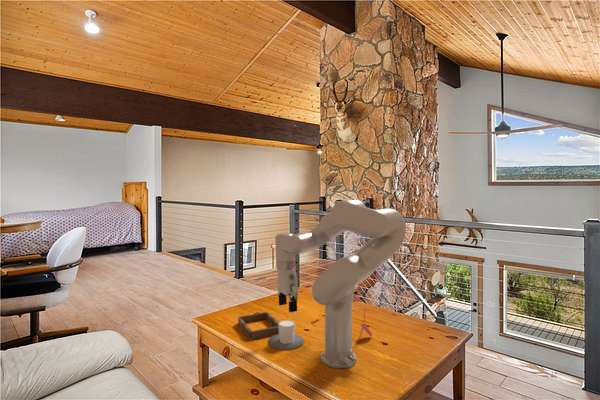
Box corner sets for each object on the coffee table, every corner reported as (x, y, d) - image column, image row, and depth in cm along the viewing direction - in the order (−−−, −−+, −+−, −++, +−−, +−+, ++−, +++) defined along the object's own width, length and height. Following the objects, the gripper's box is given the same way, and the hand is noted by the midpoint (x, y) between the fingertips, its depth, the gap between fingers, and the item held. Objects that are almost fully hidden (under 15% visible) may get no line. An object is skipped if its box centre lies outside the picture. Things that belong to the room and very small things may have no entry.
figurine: (375, 348, 128) (376, 256, 127) (326, 327, 147) (327, 247, 147) (397, 337, 138) (399, 252, 138) (349, 319, 158) (350, 244, 157)
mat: (309, 345, 131) (309, 344, 131) (276, 353, 125) (276, 352, 125) (294, 331, 143) (294, 330, 143) (263, 338, 137) (263, 337, 137)
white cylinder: (274, 342, 133) (274, 324, 132) (284, 335, 139) (284, 318, 138) (289, 346, 129) (289, 328, 129) (298, 339, 135) (298, 321, 135)
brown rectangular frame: (283, 333, 142) (283, 326, 142) (250, 340, 136) (250, 332, 135) (267, 317, 158) (267, 311, 158) (237, 323, 152) (237, 317, 152)
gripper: (304, 267, 127) (306, 312, 127) (285, 260, 142) (287, 300, 142) (286, 269, 123) (288, 316, 123) (269, 262, 139) (270, 303, 139)
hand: (287, 308), depth 133 cm, fingers open, 9 cm apart
